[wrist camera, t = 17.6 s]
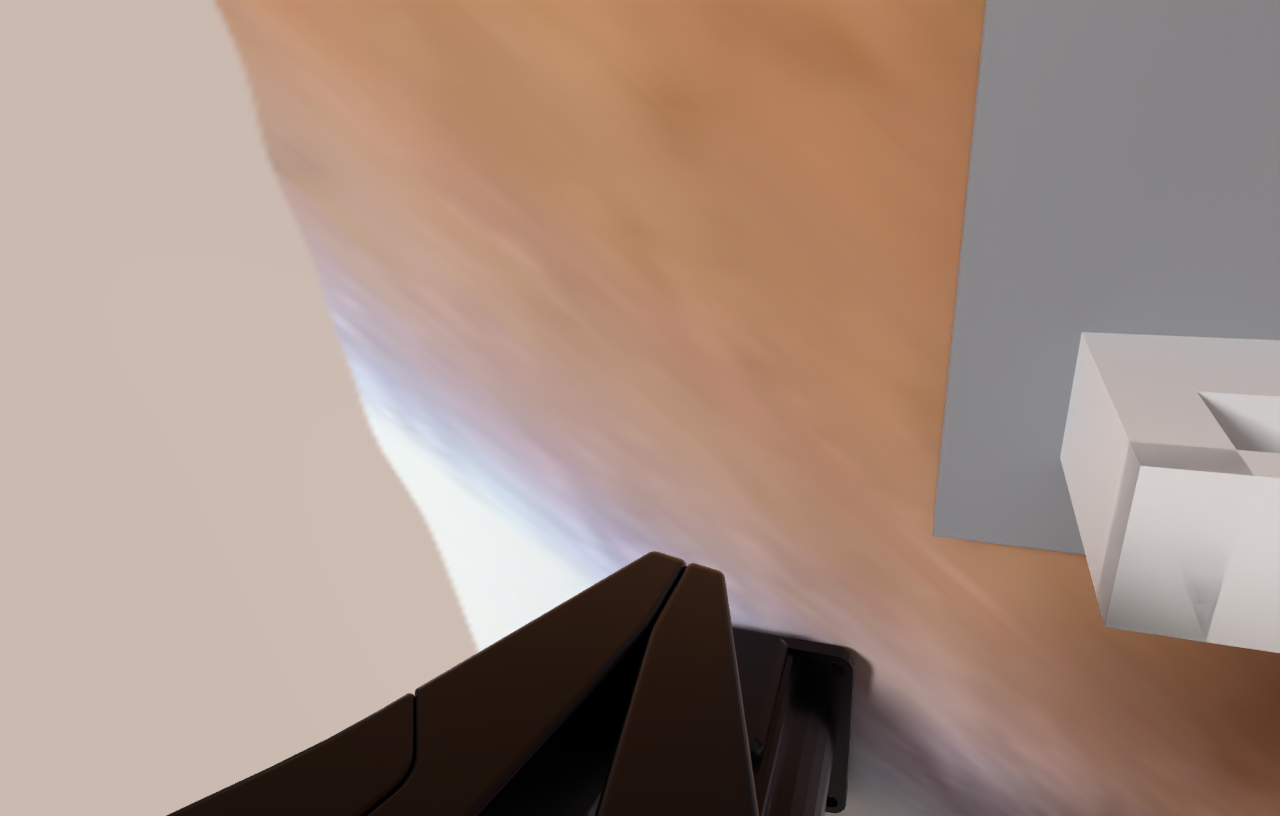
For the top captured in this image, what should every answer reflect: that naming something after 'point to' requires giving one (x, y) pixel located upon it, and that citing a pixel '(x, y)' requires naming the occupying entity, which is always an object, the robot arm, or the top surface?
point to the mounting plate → (1125, 308)
